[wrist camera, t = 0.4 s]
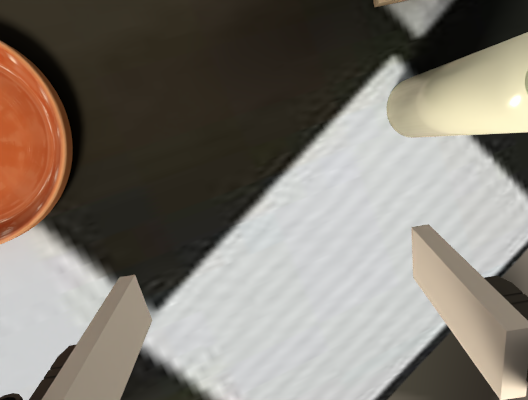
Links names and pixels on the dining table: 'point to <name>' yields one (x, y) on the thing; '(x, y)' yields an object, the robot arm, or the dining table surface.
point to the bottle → (466, 95)
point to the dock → (385, 2)
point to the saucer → (29, 145)
